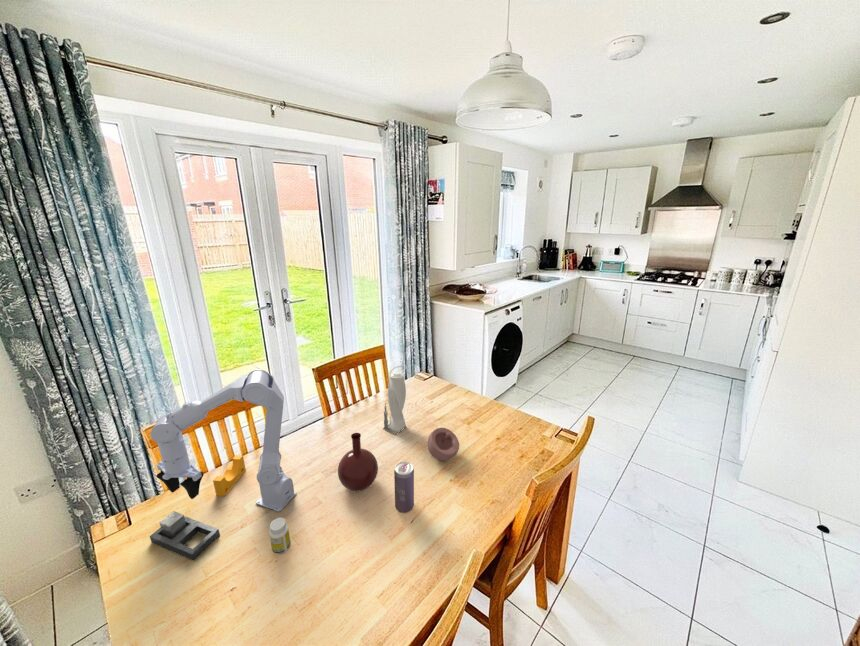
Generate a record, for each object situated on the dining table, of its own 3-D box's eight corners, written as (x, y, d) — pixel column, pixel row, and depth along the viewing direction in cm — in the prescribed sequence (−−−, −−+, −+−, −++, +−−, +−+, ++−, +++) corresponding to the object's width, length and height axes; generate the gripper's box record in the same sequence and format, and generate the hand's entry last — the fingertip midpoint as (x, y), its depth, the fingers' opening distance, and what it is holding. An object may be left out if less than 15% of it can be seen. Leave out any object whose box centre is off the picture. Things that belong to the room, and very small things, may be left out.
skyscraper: (396, 419, 154) (395, 362, 145) (410, 426, 149) (410, 367, 140) (383, 429, 147) (381, 369, 138) (397, 436, 143) (396, 375, 134)
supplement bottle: (285, 535, 99) (281, 513, 96) (294, 545, 96) (290, 522, 93) (269, 547, 95) (264, 524, 93) (277, 558, 93) (273, 534, 90)
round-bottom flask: (359, 465, 126) (356, 419, 120) (386, 481, 119) (384, 433, 113) (331, 488, 116) (326, 438, 110) (358, 507, 109) (354, 455, 102)
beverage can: (416, 501, 111) (416, 463, 106) (409, 516, 106) (409, 477, 101) (399, 496, 113) (399, 459, 108) (391, 511, 108) (390, 472, 103)
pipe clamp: (234, 469, 124) (231, 454, 122) (245, 470, 123) (242, 455, 121) (211, 495, 112) (207, 480, 110) (224, 496, 112) (220, 481, 110)
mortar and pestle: (446, 473, 123) (447, 446, 120) (420, 458, 130) (421, 433, 126) (464, 455, 132) (465, 429, 129) (439, 442, 139) (439, 418, 136)
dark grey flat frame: (220, 535, 99) (218, 529, 98) (193, 561, 92) (192, 554, 91) (179, 519, 103) (177, 513, 103) (151, 542, 96) (149, 536, 96)
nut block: (188, 530, 100) (183, 515, 98) (174, 542, 96) (169, 526, 95) (178, 526, 101) (173, 511, 99) (164, 538, 98) (159, 522, 96)
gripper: (141, 458, 95) (153, 497, 100) (180, 470, 91) (190, 510, 96) (166, 443, 102) (176, 479, 106) (204, 453, 98) (213, 491, 102)
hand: (185, 493), depth 101 cm, fingers open, 7 cm apart
